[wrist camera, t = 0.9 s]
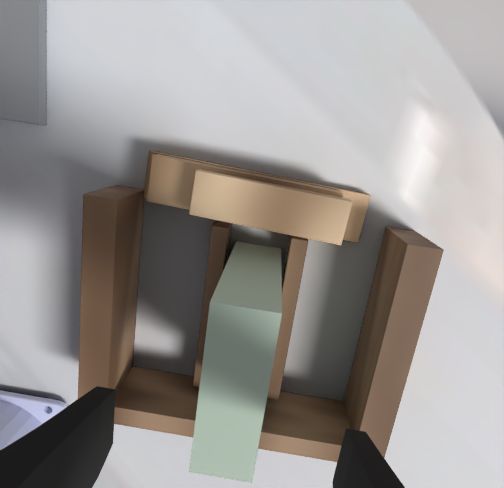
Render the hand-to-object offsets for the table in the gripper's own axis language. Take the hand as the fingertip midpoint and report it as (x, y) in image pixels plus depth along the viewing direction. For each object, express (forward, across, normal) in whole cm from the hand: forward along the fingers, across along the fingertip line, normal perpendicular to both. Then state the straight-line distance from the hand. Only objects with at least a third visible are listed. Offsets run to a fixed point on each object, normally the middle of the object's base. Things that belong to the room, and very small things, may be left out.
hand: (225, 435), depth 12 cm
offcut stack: (+10, +1, -6) cm, 12 cm away
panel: (+10, 0, 0) cm, 10 cm away
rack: (+10, 0, 0) cm, 10 cm away
